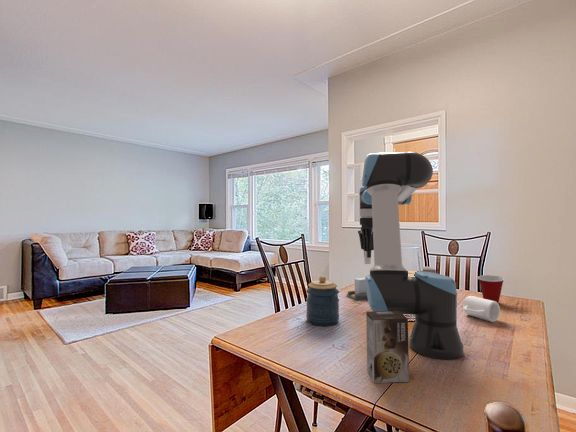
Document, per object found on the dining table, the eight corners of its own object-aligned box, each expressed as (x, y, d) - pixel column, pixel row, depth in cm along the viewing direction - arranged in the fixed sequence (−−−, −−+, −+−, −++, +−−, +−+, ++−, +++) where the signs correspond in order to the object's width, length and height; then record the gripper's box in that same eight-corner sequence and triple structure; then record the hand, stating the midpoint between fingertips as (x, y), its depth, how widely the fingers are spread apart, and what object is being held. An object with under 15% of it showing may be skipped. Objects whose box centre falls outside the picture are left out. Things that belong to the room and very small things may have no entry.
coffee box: (399, 369, 82) (399, 310, 82) (409, 382, 76) (409, 318, 75) (365, 370, 82) (365, 310, 82) (373, 383, 75) (373, 318, 75)
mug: (475, 313, 128) (475, 294, 128) (500, 320, 120) (500, 300, 120) (456, 317, 123) (456, 297, 123) (481, 325, 114) (481, 304, 114)
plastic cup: (471, 300, 147) (471, 275, 147) (488, 298, 150) (488, 274, 150) (493, 306, 137) (492, 280, 137) (510, 304, 140) (510, 278, 140)
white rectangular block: (358, 295, 152) (358, 280, 152) (354, 294, 156) (354, 278, 156) (373, 294, 156) (373, 278, 156) (369, 292, 159) (369, 277, 159)
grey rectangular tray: (355, 300, 149) (355, 294, 149) (346, 296, 156) (346, 291, 156) (382, 296, 155) (382, 291, 155) (372, 292, 163) (372, 288, 163)
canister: (324, 313, 129) (324, 271, 129) (346, 322, 118) (346, 277, 118) (299, 319, 122) (299, 275, 122) (320, 329, 111) (319, 281, 111)
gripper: (381, 217, 150) (382, 265, 150) (365, 217, 162) (365, 261, 162) (369, 217, 147) (369, 266, 147) (353, 217, 159) (353, 262, 159)
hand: (367, 263), depth 154 cm, fingers closed
